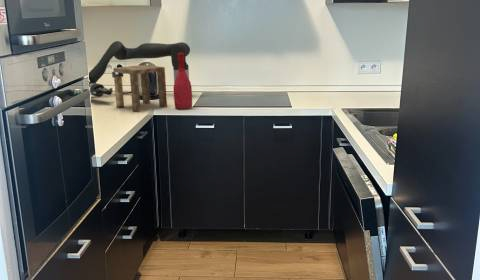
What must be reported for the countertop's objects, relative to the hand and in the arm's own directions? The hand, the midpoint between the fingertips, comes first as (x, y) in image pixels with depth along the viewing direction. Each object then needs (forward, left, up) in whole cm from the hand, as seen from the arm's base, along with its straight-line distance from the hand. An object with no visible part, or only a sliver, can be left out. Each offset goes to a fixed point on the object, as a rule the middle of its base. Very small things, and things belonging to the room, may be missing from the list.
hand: (110, 93), depth 273 cm
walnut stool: (-9, +19, -7) cm, 22 cm away
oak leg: (0, +10, -7) cm, 12 cm away
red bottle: (-23, +39, -7) cm, 45 cm away
